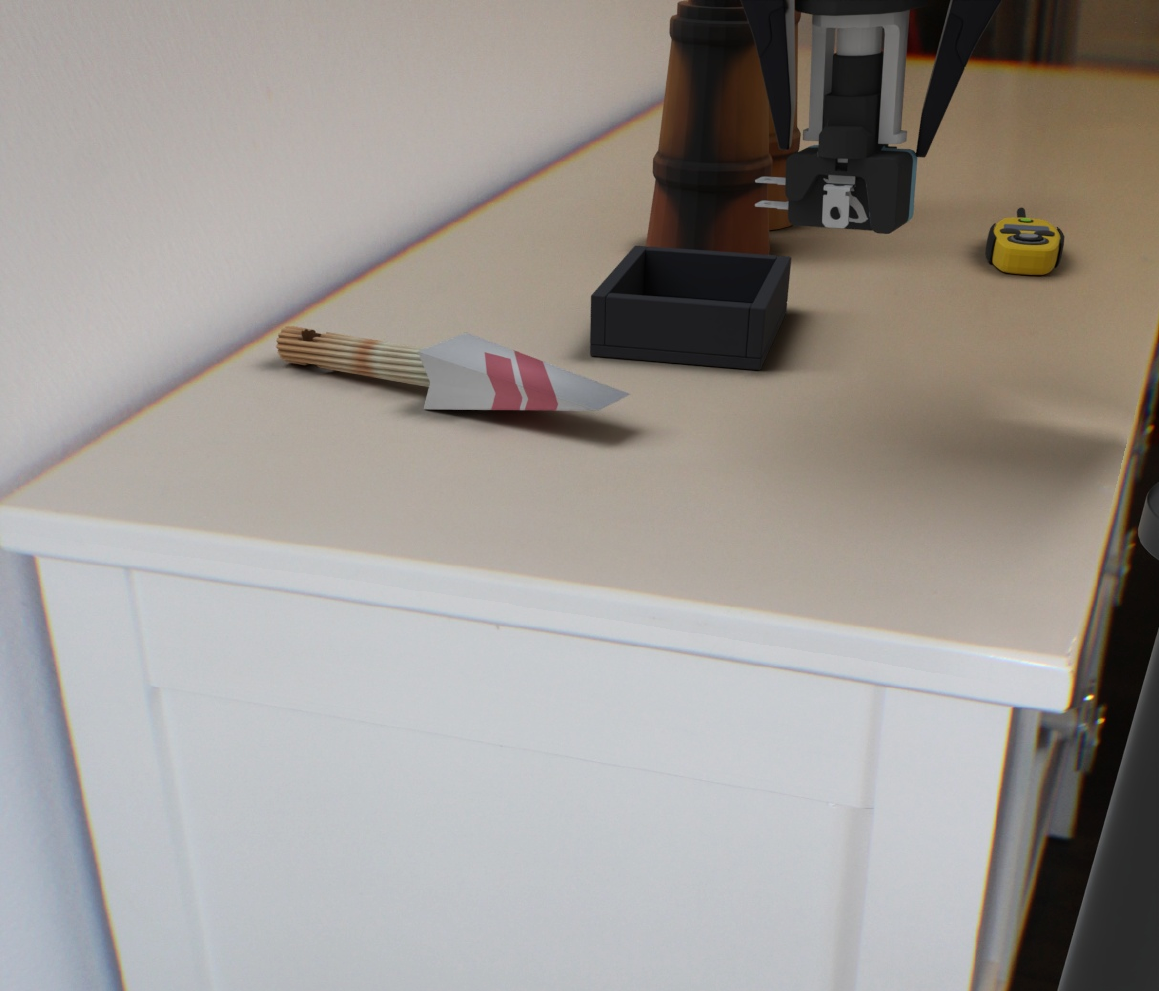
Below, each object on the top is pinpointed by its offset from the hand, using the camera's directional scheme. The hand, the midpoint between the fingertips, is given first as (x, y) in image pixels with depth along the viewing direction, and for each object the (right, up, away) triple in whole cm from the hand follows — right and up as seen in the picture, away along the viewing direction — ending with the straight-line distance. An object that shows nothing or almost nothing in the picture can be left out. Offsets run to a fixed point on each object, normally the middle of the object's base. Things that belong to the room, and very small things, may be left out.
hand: (853, 152), depth 56 cm
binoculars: (-1, +16, +42) cm, 45 cm away
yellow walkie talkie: (+19, +14, +40) cm, 46 cm away
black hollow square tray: (-4, +2, +23) cm, 24 cm away
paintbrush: (-17, -5, +14) cm, 23 cm away
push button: (0, -2, +2) cm, 3 cm away
